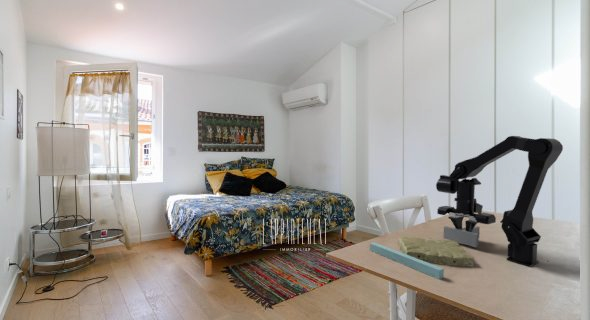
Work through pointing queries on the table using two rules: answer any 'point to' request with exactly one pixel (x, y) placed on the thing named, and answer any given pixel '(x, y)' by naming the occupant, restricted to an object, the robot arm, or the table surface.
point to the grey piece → (462, 235)
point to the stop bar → (408, 260)
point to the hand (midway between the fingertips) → (464, 237)
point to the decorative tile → (435, 251)
